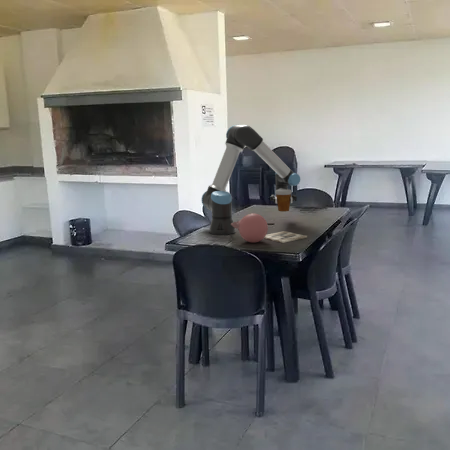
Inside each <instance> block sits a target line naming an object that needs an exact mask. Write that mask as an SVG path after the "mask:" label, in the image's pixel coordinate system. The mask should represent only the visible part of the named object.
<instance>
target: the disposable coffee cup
mask: <svg viewBox="0 0 450 450" xmlns="http://www.w3.org/2000/svg"><path fill="white" fill-rule="evenodd" d="M275 191H276V192H274V193H276V194H275V196H276V197H277V203H276V204H277V211H278V212H285V213H286V212H289V211H290V206H291V201H290V199H291V195H292V193H293V192H292V190H291V189H290V188H288V189H279V190H276V189H275Z"/></svg>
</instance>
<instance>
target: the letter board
mask: <svg viewBox="0 0 450 450" xmlns="http://www.w3.org/2000/svg"><path fill="white" fill-rule="evenodd" d="M307 238H308V235H303V234H300V233H299V234H298V233H294V232H290V231H286V230H284V231H283V230H282V231H278V232H272V233H267V234H266V236H265V237H264V238H263V239H264V240H269V241H273V242H277V243H281V244H284V243H289V242H292V241H293V242H294V241H297V240H301V239H302V240H303V239H307Z"/></svg>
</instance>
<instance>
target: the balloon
mask: <svg viewBox="0 0 450 450" xmlns="http://www.w3.org/2000/svg"><path fill="white" fill-rule="evenodd" d="M231 225H232V226H233V227H234V228H235V229H237V230H238V233H239V235H240V237H241V238H242V239H243V240H244V241H246V242H248V243H253V244H254V243H259V242H261V241H262V240H264V239H265V238H264V237H265V236H266V235H268V229H269V226H268V223H267V220H266V219H265V218H264V217H263V216H262V215H260V214H258V213H253V212H252V213H249V214H246V215H244V216H243V217H242V218H241V219H240V220H237V221H233V223H231Z"/></svg>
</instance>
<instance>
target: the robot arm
mask: <svg viewBox="0 0 450 450" xmlns="http://www.w3.org/2000/svg"><path fill="white" fill-rule="evenodd" d="M225 138H226V141H225V142H224V145H225V150H224V153H223V155H222V158H221V160H220V163H219V166H218V168H217V171H216V174H215V176H214V178H213V181H212V184H210V185H208V187H207V190H206V191H205V192H204V193H203V194H202V195H201V204H202V206H203V208H204V209H206V210H207V211H210V212H211V222H210V225H209V230H208V231H209V233H210V234H212V235H217V236H218V235H219V236H221V235H222V236H223V235H224V236H225V235H231V234H235V233H236V228H234V227H233V226H232V225H231V223H234V221H233V210H232V208H233V207H232V206H233V204H232V203H233V198H232V194H231V193H230V192H229V191H227V189H226V188H227V186H228V184H229V181H230V178H231V176H232V174H233V171H234V168H235V166H236V163H237V161H238V158H239V155H240V153H241V152H243V151H244V149H245V147H247V148H248V150H250V151H253V152H254V153H255V154H257V155H258V157H259V158H260V159H261V160H263V161H264V162H265V164H267V165H268V166H269V168H271V169H272V170H273V171H274V172H275V173H274V175H275V192H276V190H279V189H289V188H288V187H289V186H292V187H295V186H298V185H299V184H300V182H301V176H300V175H299V174H298V173H296V172H294V171H293V170H292V169H290V167H288V165H287V164H286V163H285V162H284V161H283V160H282V159H281V158H280V157H279V156H278V154H276V153H275V152H274V151H273V150H272V149H271V148H270V147H269V146H268V145H267V144H266V142H264V138H263V137H262V136H261V135H260V134H259V133H258V132H257V131H256V130H255V129H254V128H253V127H251V126H250V125H247V124H235V125H234V124H233V125H231V126H230V127H228V129H227V130H226V134H225ZM275 192H274V193H275ZM297 198H298V197H297V196H296V195H295V194H294V193H293V194H292V193H291V199H290V204H293V202H296V201H297ZM269 201H270V202H273V203H274V204H277V197H276V193H275V194H271V196H269Z"/></svg>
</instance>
